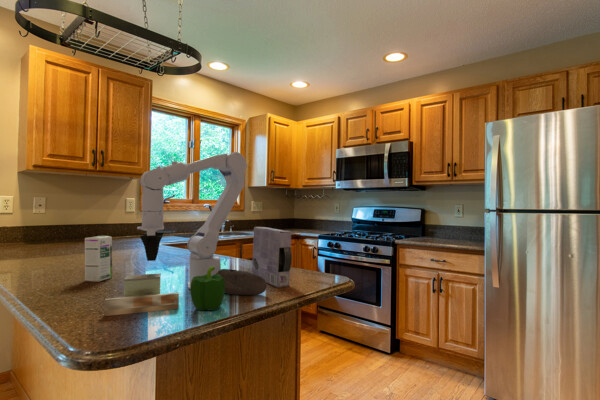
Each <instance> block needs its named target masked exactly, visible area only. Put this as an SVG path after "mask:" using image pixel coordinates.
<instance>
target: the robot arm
mask: <svg viewBox="0 0 600 400" xmlns="http://www.w3.org/2000/svg"><path fill="white" fill-rule="evenodd" d="M247 167H248V164H247V162H246V159H245V156H243V154H242V153H241V152H238V151H234V152H231V153H221V154H215V155H211V156H209V157H205V158H202V159H199V160H196V161H193V162H190V163H184V162H182V161H178V160H174V161H172V162H171V164H167V165H164V166H161V165H159V166H156V167H155V168H153V169H151V170H147V171H145V172H143V174H141V177H140V180H139V183H140V186H141V187H142V195H141V226H136V227H137V228H136V229H137V230H141V231H145V232H144V233H142V234H141V235H140V236H139V238H140V240H141V242H142V244H143V246H144V251H145V257H146V260H147V262H151V261H152V262H154V261H155V262H156V260H157V257H158V253H159V248H160V243H161V240H162V238H163V235H164V234H165V233H164V231H163V230H164V229H165V226H164V188H165V187H166V186H167V187H168V186H171V185H174V184H177V183H180V182H184V181H186V180H189V177H190V175H191V174H194V173H197V172H201V171H205V170H209V169H213V170H215V171H216V170H218V171H219V173H220V174H221V175H222V176H223V178H224V180H225V183H226V185H225V186H224V188H223V190H222V192H221V194H220V195H219V197H218V199H217V201H216V202H215V203H214V207H212V209H211V211H210V213H209V214H208V216H207V218H206V220H205V221H204V224H203V225H202V226H200V227H199V228H198V229H197V230H196V232H195V234H192V235H191V237H190V238H189V239H188V241H187V247H186V248H187V249H188V251H189V252H190V255H189V281H187V287H188V288H187V289H188V290H191V281H192V279H193V277H195V276H203V275H205V274H207V271H208V269H209V268H210V267H211V266H213V267H215V269H214V270H212V271H211V275H212V276H213V275H215V274H216V273H217V272H218V271H219V270H221V269H222V268H221V257H220V256H214V254H215V253H216V250H217V245H218V242H219V239H220V234H219V232H220V230H221V228H222V226H223V225H224V224H225V222H226V219H227V218H228V216H229V214H230V212H231V211H232V209H233V207H234V205H235V203H236V201H237V199H238V198H239V196H240V194H241V192H242V190H243V189H244V186H245V177H246V176H245V175H246V172H245V171H246V170H247Z"/></svg>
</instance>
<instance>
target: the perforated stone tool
mask: <svg viewBox="0 0 600 400" xmlns="http://www.w3.org/2000/svg"><path fill="white" fill-rule="evenodd" d="M216 274H219V275H220V276H221V277H223V278H224V281H225V291H224V294H227V295H228V294H229V295H237V296H257V295H261V294H263V293H265V292H266V291H267V288H268V285H267V283H266V282H265V280H264V278H262V277H261V276H259V275H257V274H254V273H252V271H251V272H250V271H246V270H241V269H239V270H238V269H237V270H236V269H230V268H229V269H227V268H223V269H222V268H221V270H219V271H218V272H217V273H216Z"/></svg>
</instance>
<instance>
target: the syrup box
mask: <svg viewBox="0 0 600 400" xmlns="http://www.w3.org/2000/svg"><path fill="white" fill-rule="evenodd" d="M112 278H113V237H112V236H110V235H97V236H91V237H85V238H84V281H86V282H96V283H97V282H99V283H100V282H102V281H106V280H109V279H112Z"/></svg>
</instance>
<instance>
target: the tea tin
mask: <svg viewBox="0 0 600 400" xmlns="http://www.w3.org/2000/svg"><path fill="white" fill-rule="evenodd" d="M123 282H124V285H123V286H124V289H123V293H124V295H123V297H133V296H144V295H156V294H161V273H147V274H145V273H144V274H132V275H131V274H130V275H126V276H125V277H124V279H123Z"/></svg>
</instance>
